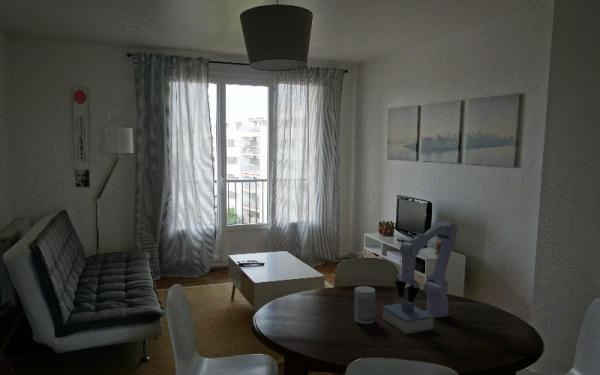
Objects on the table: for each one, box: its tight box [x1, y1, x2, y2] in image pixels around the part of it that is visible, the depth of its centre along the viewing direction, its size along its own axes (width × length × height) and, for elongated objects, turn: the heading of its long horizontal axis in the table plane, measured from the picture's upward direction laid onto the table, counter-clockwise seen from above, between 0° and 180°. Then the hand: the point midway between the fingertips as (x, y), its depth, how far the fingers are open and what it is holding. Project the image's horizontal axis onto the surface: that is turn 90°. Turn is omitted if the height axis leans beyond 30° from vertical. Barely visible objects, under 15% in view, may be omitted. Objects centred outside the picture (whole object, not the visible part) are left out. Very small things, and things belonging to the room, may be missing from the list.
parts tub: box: [382, 308, 434, 335], centre depth 201 cm, size 14×18×5 cm
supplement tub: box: [353, 285, 377, 325], centre depth 204 cm, size 10×10×15 cm
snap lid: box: [382, 301, 434, 323], centre depth 201 cm, size 14×18×6 cm
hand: (405, 299), depth 200 cm, fingers open, 7 cm apart
